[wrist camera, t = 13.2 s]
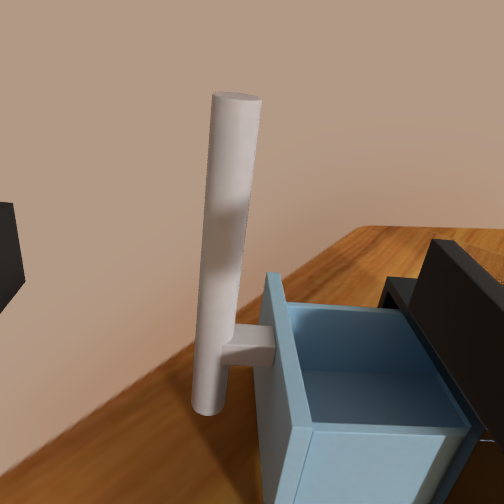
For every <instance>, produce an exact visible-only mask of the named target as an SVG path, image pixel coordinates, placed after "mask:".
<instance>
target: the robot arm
mask: <svg viewBox="0 0 504 504" xmlns="http://www.w3.org/2000/svg"><path fill="white" fill-rule="evenodd" d="M24 283H25V276H24V269H23V263H22V257H21V250H20V244H19V238H18V233H17V226H16V219H15V213H14V208H13V203H7V202H0V313H1V312H2V311H3V309H4V308H5V307H6V306H7V304H8V303H9V302H10V301H11V299H12V298H13V297H14V296H15V294H16V293H17V292H18V290H19V289H20V288H21V287H22V285H23V284H24ZM408 309H409V310H410V312H411V313H412V315H413V316H414V318H415V319H416V321H417V322H418V324H419V325H420V327H421V328H422V330H423V332H424V333H425V335H426V336H427V338H428V339H429V341H430V342H431V344H432V345H433V347H434V348H435V350H436V351H437V353H438V355H439V356H440V358H441V359H442V361H443V362H444V364H445V365H446V367H447V368H448V370H449V371H450V373H451V375H452V376H453V378H454V379H455V381H456V382H457V384H458V385H459V387H460V388H461V390H462V391H463V393H464V394H465V396H466V398H467V399H468V401H469V402H470V404H471V405H472V407H473V408H474V410H475V411H476V413H477V414H478V416H479V418H480V419H481V421H482V422H483V424H484V425H485V427H486V428H487V430H488V431H489V433H490V434H491V436H492V437H493V439H494V441H495V442H496V444H497V445H498V447H499V448H500V450H501V451H502V453H503V454H504V287H503V286H502V285H501V284H500V283H499V282H498V281H496V280H495V279H494V278H493V277H492V276H491V275H490V274H489V273H488V272H487V271H486V270H485V269H484V268H483V267H482V266H480V265H479V264H478V263H477V262H476V261H475V260H474V259H473V258H472V257H471V256H470V255H469V254H468V253H467V252H465V251H464V250H463V249H462V248H461V247H460V246H459V245H458V244H457V243H456V242H455V241H452V240H441V239H432V240H431V243H430V246H429V248H428V251H427V254H426V257H425V260H424V262H423V265H422V268H421V271H420V274H419V276H418V279H417V282H416V285H415V287H414V290H413V293H412V296H411V299H410V301H409V304H408Z"/></svg>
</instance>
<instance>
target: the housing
mask: <svg viewBox="0 0 504 504" xmlns="http://www.w3.org/2000/svg"><path fill="white" fill-rule="evenodd" d="M416 282H417V279H415V278H402V277H389V276H388V277H387V279H386V282H385V286H384V288H383V291H382V295H381V298H380V301H379V304H378V307H377V308H385V309H400V311H401V312H402V314H403V316H404V317H405V319H406V320H407V322H408V324H409V325H410V327H411V329H412V330H413V332H414V333H415V335H416V337H417V338H418V340H419V342H420V343H421V345H422V346H423V348H424V350H425V351H426V353H427V355H428V356H429V358H430V359H431V361H432V363H433V364H434V366H435V368H436V369H437V371H438V372H439V374H440V376H441V377H442V379H443V381H444V382H445V384H446V385H447V387H448V389H449V390H450V392H451V394H452V395H453V397H454V398H455V400H456V402H457V403H458V405H459V407H460V408H461V410H462V411H463V413H464V415H465V416H466V418H467V420H468V421H469V423H470V424H471V426H472V427H470V429H469V431H468V433H467V435H466V437H465V439H464V441H463V443H462V445H461V446H460V448H459V450H458V452H457V454H456V456H455V458H454V460H453V462H452V463H451V465H450V467H449V469H448V471H447V473H446V475H445V477H444V479H443V480H442V482H441V484H440V486H439V488H438V490H437V492H436V494H435V496H434V498H433V499H432V501H431V503H430V504H504V454H503V453H502V451H501V450H500V448H499V447H498V445H497V444H496V442H495V441H494V439H493V437H492V436H491V434H490V433H489V431H488V430H487V428H486V427H485V425H484V424H483V422H482V421H481V419H480V418H479V416H478V414H477V413H476V411H475V410H474V408H473V407H472V405H471V404H470V402H469V401H468V399H467V398H466V396H465V394H464V393H463V391H462V390H461V388H460V387H459V385H458V384H457V382H456V381H455V379H454V378H453V376H452V375H451V373H450V371H449V370H448V368H447V367H446V365H445V364H444V362H443V361H442V359H441V358H440V356H439V355H438V353H437V351H436V350H435V348H434V347H433V345H432V344H431V342H430V341H429V339H428V338H427V336H426V335H425V333H424V332H423V330H422V328H421V327H420V325H419V324H418V322H417V321H416V319H415V318H414V316H413V315H412V313H411V312H410V310H409V309H408V304H409V301H410V299H411V296H412V293H413V290H414V287H415V285H416ZM502 286H503V287H504V285H502Z"/></svg>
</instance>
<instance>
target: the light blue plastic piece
mask: <svg viewBox="0 0 504 504" xmlns="http://www.w3.org/2000/svg"><path fill="white" fill-rule="evenodd" d="M261 103H262V100H261V98H258V97H256V96H253V95H248V94H242V93H234V92H215V93H213V95H212V105H211V120H210V134H209V148H208V163H207V177H206V192H205V207H204V221H203V237H202V251H201V265H200V279H199V295H198V308H197V324H196V337H195V352H194V366H193V381H192V395H191V405H192V407H193V409H194V410H195V411H196V412H197V413H199V414H201V415H205V416H212V415H215V414H218V413H219V412H220V411H221V410H222V409H223V408H224V405H225V399H226V391H227V382H228V374H229V366H230V365H236V366H253V373H254V386H255V399H256V412H257V425H258V438H259V451H260V464H261V477H262V490H263V503H264V504H430V503H431V501H432V499H433V498H434V496H435V494H436V492H437V490H438V488H439V486H440V484H441V482H442V480H443V479H444V477H445V475H446V473H447V471H448V469H449V467H450V465H451V463H452V462H453V460H454V458H455V456H456V454H457V452H458V450H459V448H460V446H461V445H462V443H463V441H464V439H465V437H466V435H467V433H468V431H469V429H470V427H472V426H471V424H470V423H469V421H468V420H467V418H466V416H465V415H464V413H463V411H462V410H461V408H460V407H459V405H458V403H457V402H456V400H455V398H454V397H453V395H452V394H451V392H450V390H449V389H448V387H447V385H446V384H445V382H444V381H443V379H442V377H441V376H440V374H439V372H438V371H437V369H436V368H435V366H434V364H433V363H432V361H431V359H430V358H429V356H428V355H427V353H426V351H425V350H424V348H423V346H422V345H421V343H420V342H419V340H418V338H417V337H416V335H415V333H414V332H413V330H412V329H411V327H410V325H409V324H408V322H407V320H406V319H405V317H404V316H403V314H402V312H401V311H400V309H385V308H370V307H355V306H341V305H326V304H311V303H296V302H286V300H285V295H284V290H283V286H282V281H281V277H280V273H274V272H267V273H266V279H265V286H264V292H263V298H262V305H261V311H260V318H259V324H258V325H248V324H235V317H236V309H237V300H238V292H239V284H240V276H241V268H242V260H243V252H244V243H245V235H246V227H247V218H248V211H249V202H250V194H251V186H252V178H253V170H254V162H255V161H254V160H255V153H256V145H257V137H258V129H259V121H260V113H261Z"/></svg>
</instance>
